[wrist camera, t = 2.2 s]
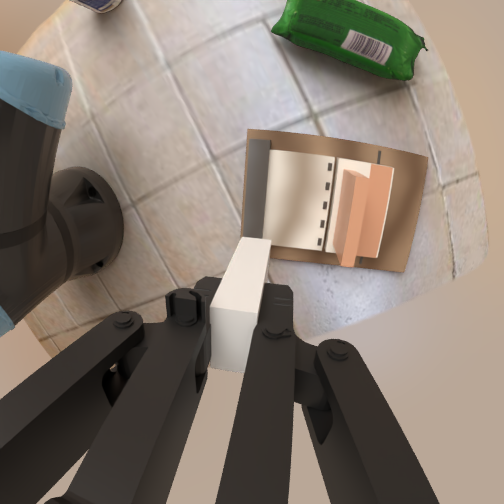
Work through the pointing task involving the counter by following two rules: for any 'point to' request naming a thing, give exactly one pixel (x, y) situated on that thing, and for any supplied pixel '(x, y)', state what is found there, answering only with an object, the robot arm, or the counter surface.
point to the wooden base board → (322, 195)
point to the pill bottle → (98, 4)
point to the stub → (358, 209)
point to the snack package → (352, 35)
